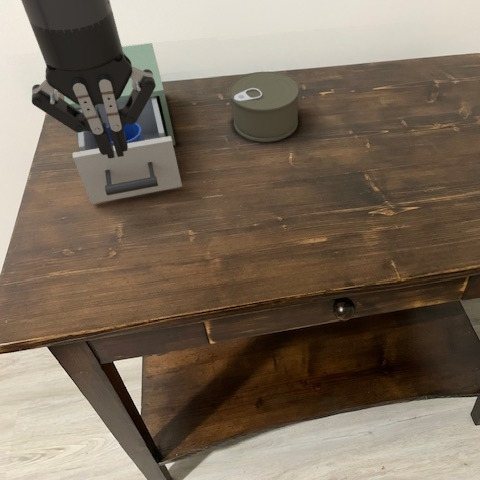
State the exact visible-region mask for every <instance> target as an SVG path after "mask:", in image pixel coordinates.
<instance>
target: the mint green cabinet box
mask: <svg viewBox="0 0 480 480" xmlns="http://www.w3.org/2000/svg"><path fill="white" fill-rule="evenodd" d="M122 50H123V52H124V54H125V55H126V56H127V57H128V58H129V60H130V61H131V65H132V66H133V67H135V68H137V69H139V70H142V71H143V70H145V69H149V70H151V71H152V73H153V76H154V80H155V85H156V87H155V89H154V91H153V92H152V94H151V96H150V97H154V96H156V99H157V103H158V107H159V112H160V116H161V120H162V124H163V129H164V133H165V137H167V136H171V138H172V142H173V146H176V139H175V135H174V129H173V127H172V122H171V117H170V111H169V107H168V103H167V98H166V94H165V88H164V85H163V81H162V77H161V74H160V69H159V65H158V62H157V58H156V53H155V50H154V46H153V43H152V42H149V43H142V44H141V43H140V44H135V45H133V44H132V45H127V46H122ZM131 81H132V79H131V78H130V79H129V81H128V83H127V85H126V87H125V89H124V91H123V93H122V95H121V96H120V98H119V99H117V102H121V101H127V100H128V98H129V96H130V94H131V92H132V90H133V87H132V82H131ZM63 97H64V98H63V100H64V101H66V102H67V103H69V104H70V105H71V106H73V107H74V108H76V109H77V108H81V106H80V105H78V104H76V103H74V102H73V101H71V100H70V99H68V98H67V97H66V96H64V95H63ZM98 105H101V104H98ZM74 133H75V137H76V139H77V141H78V132H75V131H74ZM78 143H79V141H78Z"/></svg>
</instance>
